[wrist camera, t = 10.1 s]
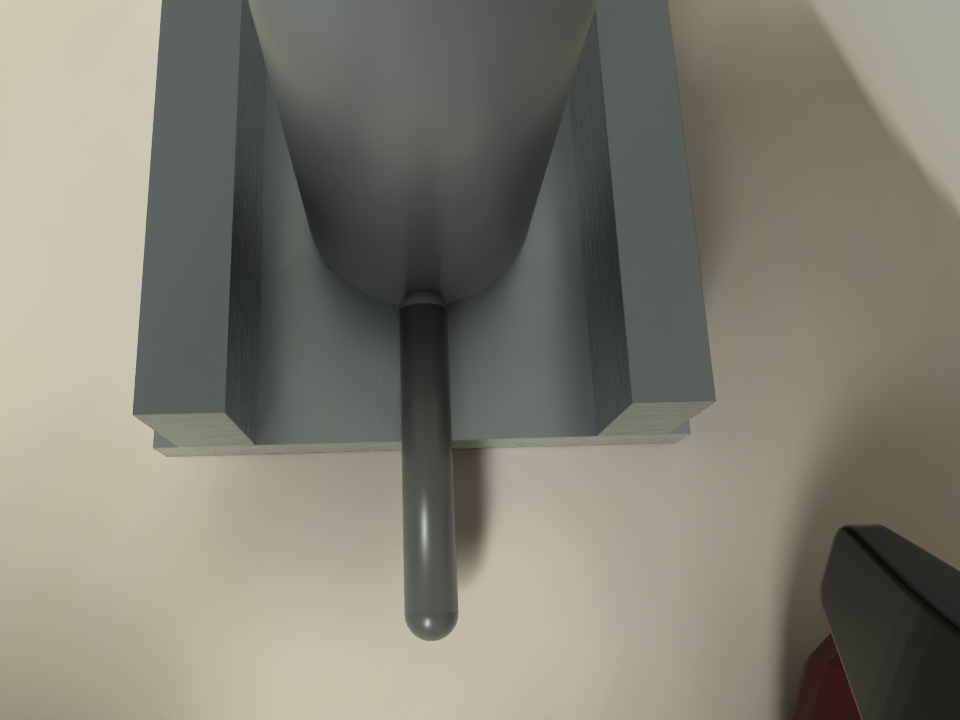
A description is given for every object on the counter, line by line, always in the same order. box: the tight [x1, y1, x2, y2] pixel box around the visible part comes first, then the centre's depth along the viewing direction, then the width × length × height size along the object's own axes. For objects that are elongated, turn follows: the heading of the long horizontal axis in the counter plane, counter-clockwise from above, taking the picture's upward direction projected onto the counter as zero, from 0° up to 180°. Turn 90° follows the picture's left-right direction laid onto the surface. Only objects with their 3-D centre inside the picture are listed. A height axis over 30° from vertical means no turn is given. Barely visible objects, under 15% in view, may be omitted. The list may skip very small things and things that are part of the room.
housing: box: [133, 0, 716, 457], centre depth 18 cm, size 11×11×4 cm
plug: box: [248, 0, 597, 641], centre depth 12 cm, size 12×5×14 cm, turn 3°
